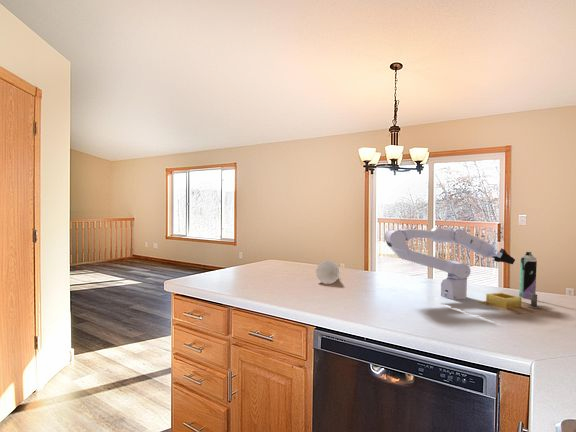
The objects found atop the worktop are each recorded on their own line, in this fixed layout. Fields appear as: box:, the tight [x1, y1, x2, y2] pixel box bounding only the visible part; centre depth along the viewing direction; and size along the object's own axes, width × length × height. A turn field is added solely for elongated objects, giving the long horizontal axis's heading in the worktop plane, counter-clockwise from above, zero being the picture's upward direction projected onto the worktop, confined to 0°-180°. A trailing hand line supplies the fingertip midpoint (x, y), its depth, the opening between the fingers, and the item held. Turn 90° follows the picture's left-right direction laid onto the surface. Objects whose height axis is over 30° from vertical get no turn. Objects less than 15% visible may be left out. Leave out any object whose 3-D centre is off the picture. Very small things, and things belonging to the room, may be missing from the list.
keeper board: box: [478, 294, 553, 315], centre depth 129 cm, size 18×16×6 cm
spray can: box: [518, 251, 538, 300], centre depth 142 cm, size 6×6×20 cm
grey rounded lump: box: [315, 259, 341, 285], centre depth 175 cm, size 12×12×18 cm
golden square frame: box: [485, 292, 522, 309], centre depth 129 cm, size 8×8×4 cm
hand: (507, 259), depth 140 cm, fingers open, 7 cm apart
